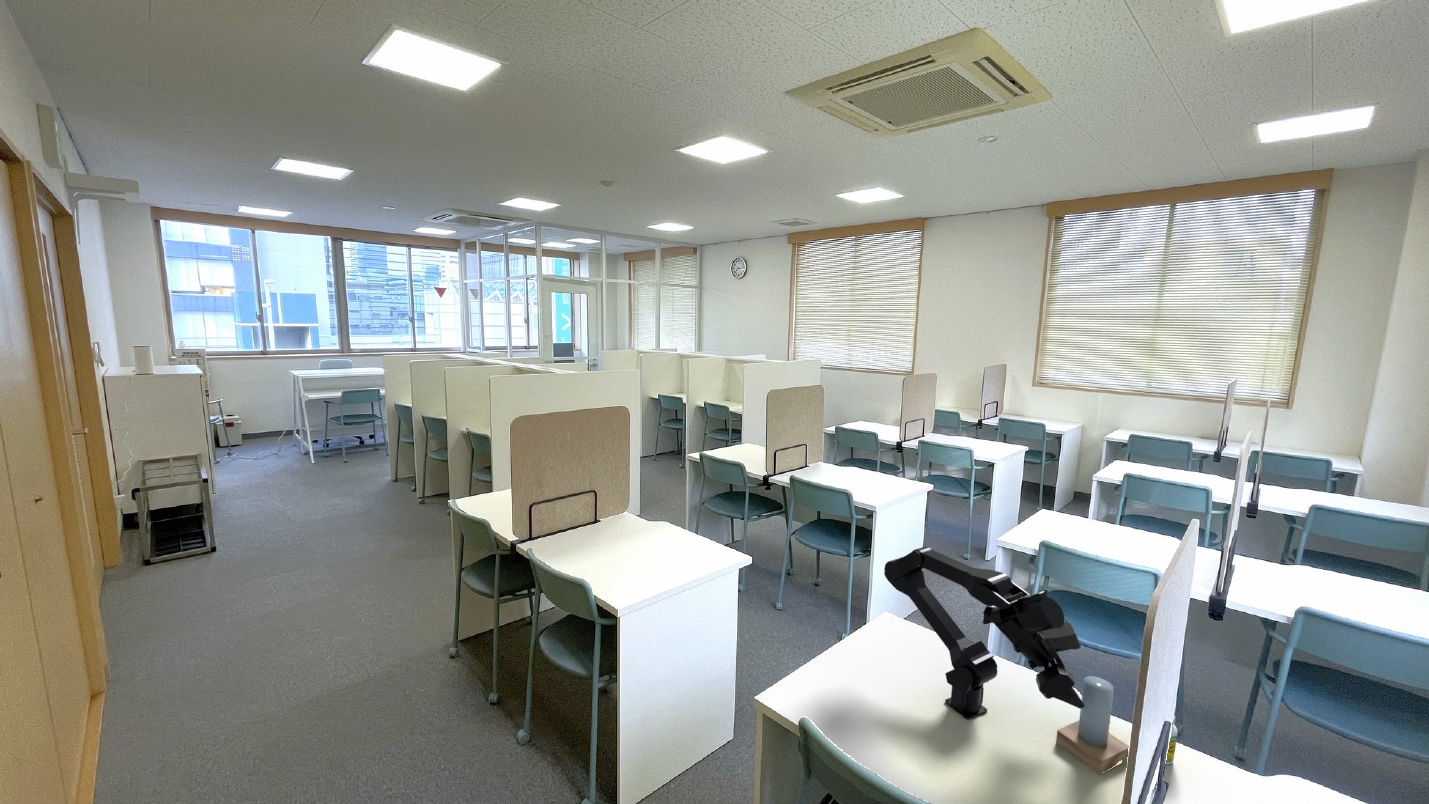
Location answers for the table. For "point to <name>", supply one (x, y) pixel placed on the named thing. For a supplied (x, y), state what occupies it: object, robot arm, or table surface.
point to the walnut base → (1092, 749)
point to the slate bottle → (1095, 711)
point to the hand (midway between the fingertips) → (1076, 692)
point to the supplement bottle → (1172, 744)
